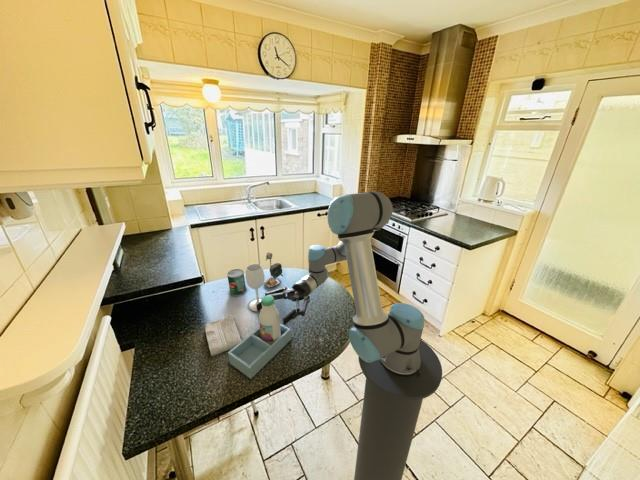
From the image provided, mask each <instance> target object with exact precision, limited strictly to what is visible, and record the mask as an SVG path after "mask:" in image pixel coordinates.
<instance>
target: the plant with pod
mask: <svg viewBox="0 0 640 480" xmlns="http://www.w3.org/2000/svg"><path fill="white" fill-rule="evenodd" d="M272 259H273V253H272V252H266V255H265V261H267V260H269V264H270V266H269V273H270V277H269V278H267V279H266V280H264V286H265V287H266V288H272V287H276V286H278V285H279V284H280V283H281V281H280V280H279V279H278V277H280V276H281V277H284V275H283V268H282V267H283V266H282V263H279V262H275V263H273V264H272Z"/></svg>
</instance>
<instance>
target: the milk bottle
mask: <svg viewBox="0 0 640 480" xmlns="http://www.w3.org/2000/svg"><path fill="white" fill-rule="evenodd" d="M260 299H261V303H262V309H261V311H259V315H258V323H259V327H260V334H261V340H263V341H265V342H266V343H268V344H270V345H272V344H273V343H274V342H275V341H276V340H277V339H278V338H280V337H281V329H280V324H281V318H280V313H279V311H278V309H277V308H276V306H275V300H274V298H273V297H272V296H269V295H268V296H265V295H264V296H263V297H262V298H260Z"/></svg>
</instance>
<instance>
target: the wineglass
mask: <svg viewBox="0 0 640 480" xmlns="http://www.w3.org/2000/svg"><path fill="white" fill-rule="evenodd" d="M265 279H266V278H265V272H264V269H263V266H262V265H261V264H260V263H251V264H248V265H247V266H246V268H245V283H246V284H247V286H248V287H249V288H250V289H252V290H255V297H256V299H254V300H253V301H251V302H250V303H249V305H248V308H249V309H250V310H251V311H253V312H261V310H259V311H257V306H256V305H257V304H259V303H260V302H261V299H262V298H260V296H259V289H260V288H262V287H263V286H264V285H265V283H264V282H265V281H266V280H265Z"/></svg>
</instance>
